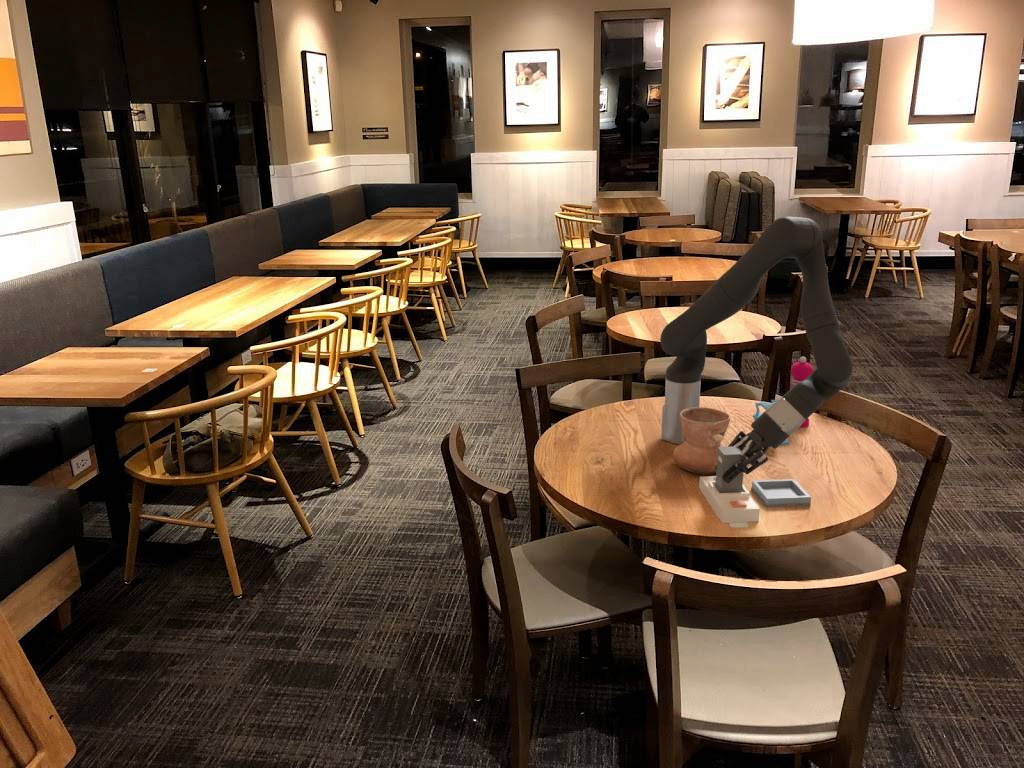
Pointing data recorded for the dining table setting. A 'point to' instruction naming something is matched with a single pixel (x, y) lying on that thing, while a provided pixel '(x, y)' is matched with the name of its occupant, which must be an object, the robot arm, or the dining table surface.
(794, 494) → the tray
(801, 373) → the pepper mill
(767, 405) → the chair
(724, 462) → the block
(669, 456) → the dining table surface
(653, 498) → the dining table surface
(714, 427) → the ceramic jug
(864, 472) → the dining table surface
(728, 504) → the white rectangular base
